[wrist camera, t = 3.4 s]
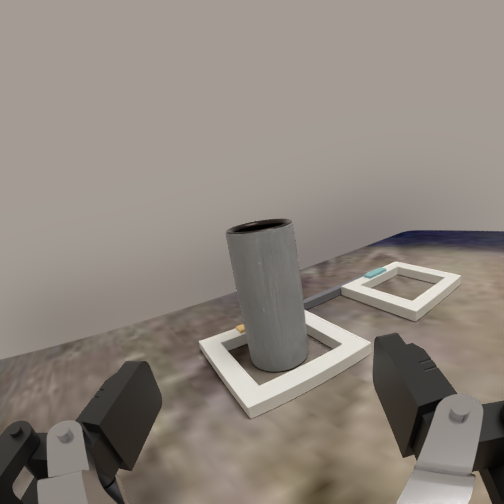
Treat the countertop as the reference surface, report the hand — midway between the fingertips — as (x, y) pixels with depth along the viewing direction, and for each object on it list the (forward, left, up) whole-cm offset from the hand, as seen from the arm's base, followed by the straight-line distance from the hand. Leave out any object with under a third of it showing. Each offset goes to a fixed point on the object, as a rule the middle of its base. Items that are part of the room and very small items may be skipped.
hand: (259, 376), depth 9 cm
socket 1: (-6, -10, -7) cm, 13 cm away
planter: (-6, -10, -7) cm, 13 cm away
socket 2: (-22, -10, -7) cm, 25 cm away
